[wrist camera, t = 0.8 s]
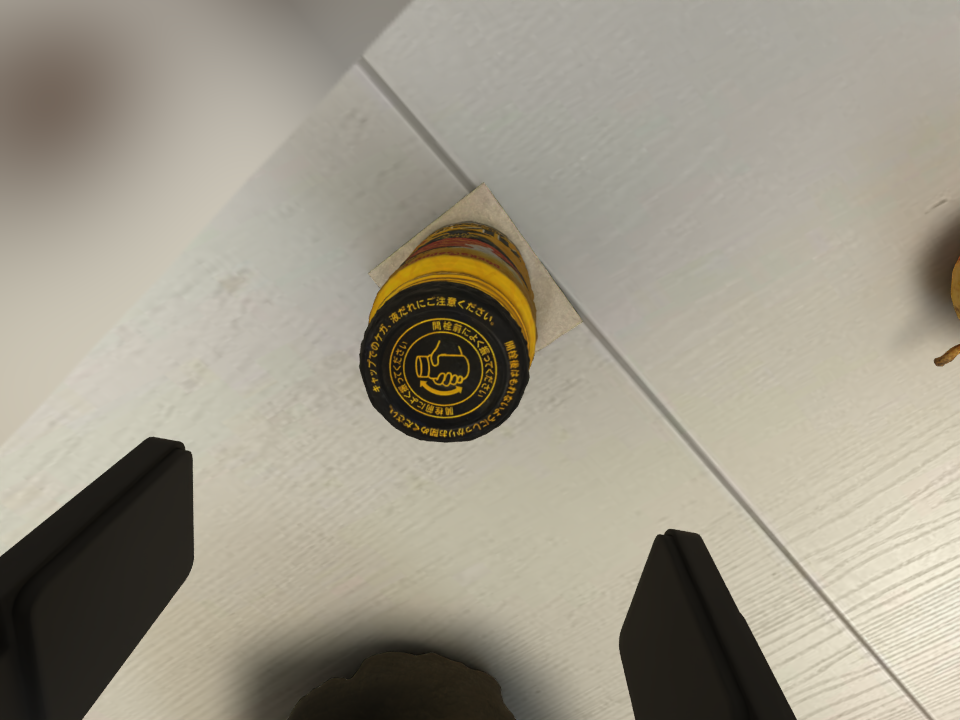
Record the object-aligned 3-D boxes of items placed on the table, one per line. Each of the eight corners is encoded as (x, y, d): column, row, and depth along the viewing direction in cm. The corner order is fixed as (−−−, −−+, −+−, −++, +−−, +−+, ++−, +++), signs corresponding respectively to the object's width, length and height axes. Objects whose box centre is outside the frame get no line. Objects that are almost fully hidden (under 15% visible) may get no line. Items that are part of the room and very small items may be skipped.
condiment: (484, 181, 26) (464, 209, 14) (582, 320, 28) (632, 437, 17) (368, 272, 28) (273, 359, 16) (469, 395, 30) (447, 545, 19)
